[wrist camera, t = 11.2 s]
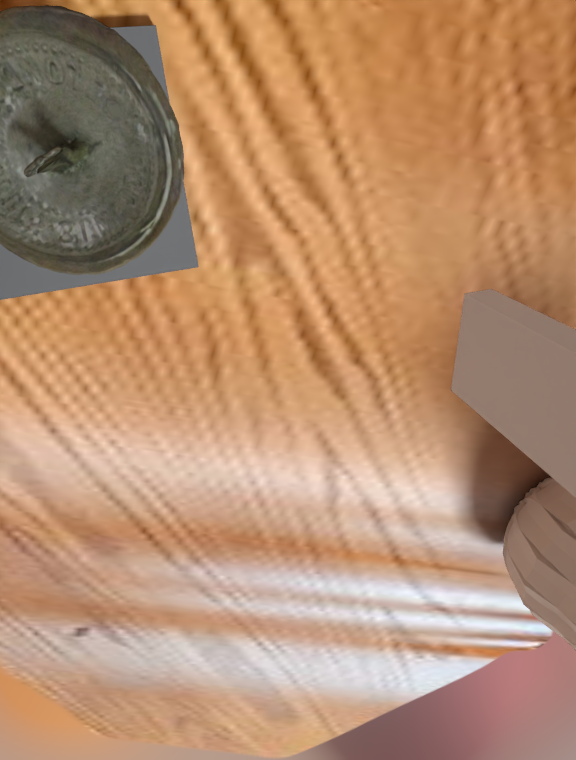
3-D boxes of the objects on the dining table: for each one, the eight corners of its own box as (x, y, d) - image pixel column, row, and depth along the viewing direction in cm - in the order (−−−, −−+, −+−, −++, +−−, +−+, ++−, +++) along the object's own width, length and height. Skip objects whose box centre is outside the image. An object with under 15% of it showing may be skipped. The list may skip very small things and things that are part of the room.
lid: (164, 263, 27) (184, 293, 23) (-46, 258, 23) (-66, 293, 19) (169, 37, 22) (196, 26, 18) (-99, -23, 18) (-139, -53, 14)
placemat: (154, 27, 26) (155, 25, 25) (197, 264, 32) (198, 266, 32) (-145, 43, 23) (-151, 41, 22) (-31, 301, 29) (-33, 305, 29)
